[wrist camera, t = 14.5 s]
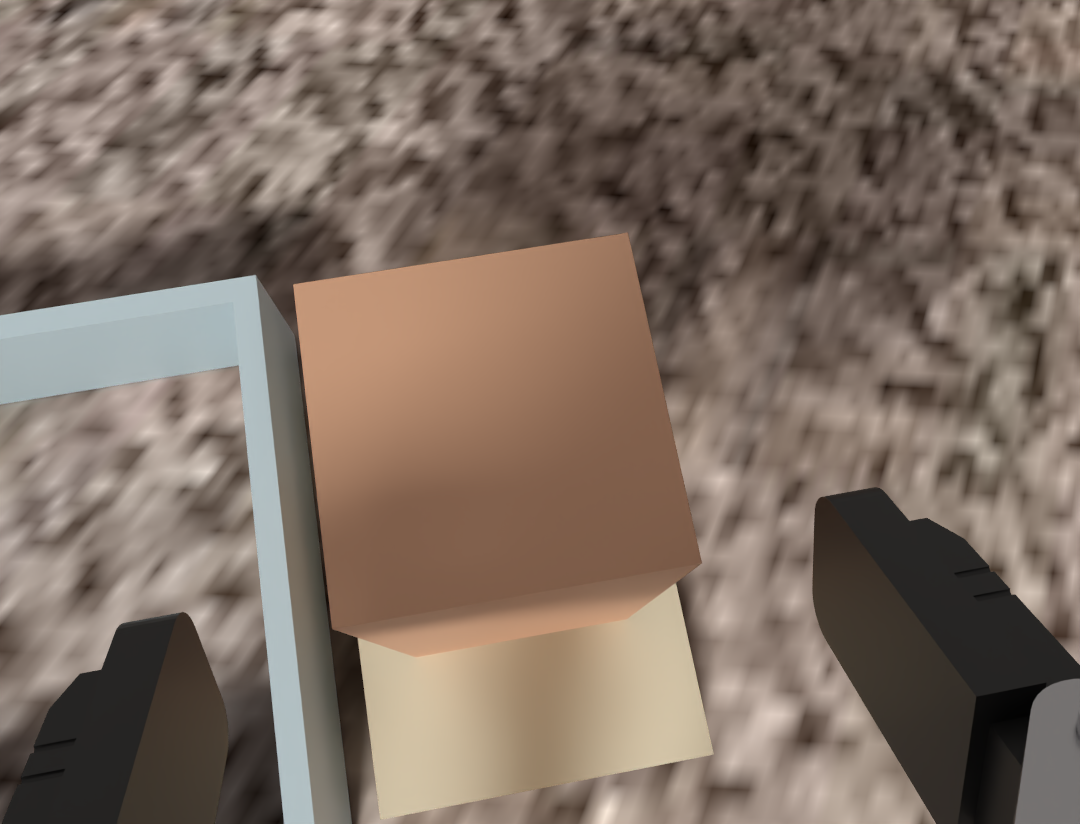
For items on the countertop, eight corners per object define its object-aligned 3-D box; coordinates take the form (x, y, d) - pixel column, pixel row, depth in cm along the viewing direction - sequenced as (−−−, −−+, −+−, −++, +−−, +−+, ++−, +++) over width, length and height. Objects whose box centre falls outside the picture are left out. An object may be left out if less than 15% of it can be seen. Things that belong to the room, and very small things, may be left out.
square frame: (-217, 956, 22) (-374, 1011, 18) (-197, 415, 26) (-324, 366, 22) (354, 844, 23) (320, 874, 19) (295, 335, 26) (255, 275, 23)
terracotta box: (416, 657, 22) (331, 628, 13) (387, 451, 24) (293, 284, 14) (626, 619, 22) (702, 563, 13) (586, 417, 24) (627, 232, 14)
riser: (392, 809, 23) (380, 819, 21) (333, 349, 26) (318, 322, 24) (698, 749, 24) (713, 754, 22) (602, 305, 27) (608, 275, 25)
